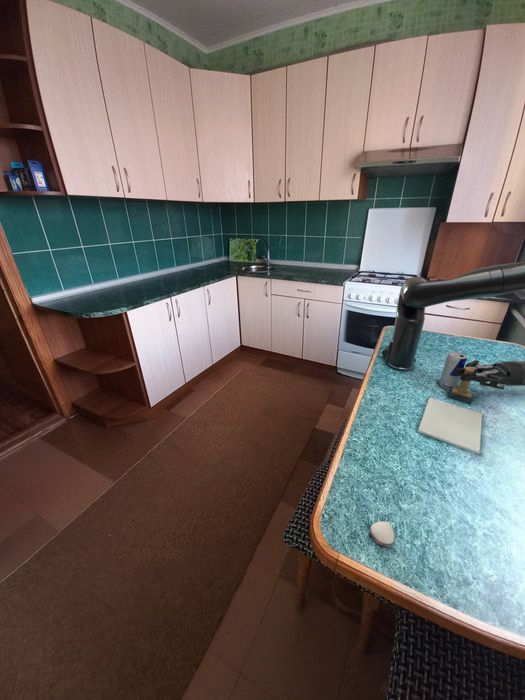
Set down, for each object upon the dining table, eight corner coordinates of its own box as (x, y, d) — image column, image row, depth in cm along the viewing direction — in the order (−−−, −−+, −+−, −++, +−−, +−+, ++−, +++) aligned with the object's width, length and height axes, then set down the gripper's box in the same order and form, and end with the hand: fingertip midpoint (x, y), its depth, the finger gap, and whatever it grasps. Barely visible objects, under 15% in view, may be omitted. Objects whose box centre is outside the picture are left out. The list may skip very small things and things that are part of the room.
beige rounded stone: (365, 536, 55) (367, 528, 54) (377, 518, 59) (380, 510, 57) (387, 553, 53) (390, 546, 52) (399, 534, 56) (401, 526, 55)
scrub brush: (448, 397, 94) (458, 368, 88) (449, 392, 96) (459, 363, 91) (470, 403, 90) (481, 373, 85) (470, 398, 93) (482, 369, 87)
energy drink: (459, 390, 97) (470, 359, 91) (441, 389, 98) (451, 358, 92) (453, 382, 101) (463, 351, 96) (436, 380, 102) (446, 350, 97)
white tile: (417, 432, 80) (418, 429, 80) (428, 399, 93) (429, 397, 93) (478, 454, 73) (479, 452, 72) (481, 415, 86) (482, 413, 85)
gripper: (502, 352, 93) (448, 353, 93) (539, 375, 81) (477, 376, 81) (494, 371, 97) (442, 372, 97) (528, 397, 84) (469, 398, 84)
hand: (458, 374), depth 89 cm, fingers closed on scrub brush, 2 cm apart
